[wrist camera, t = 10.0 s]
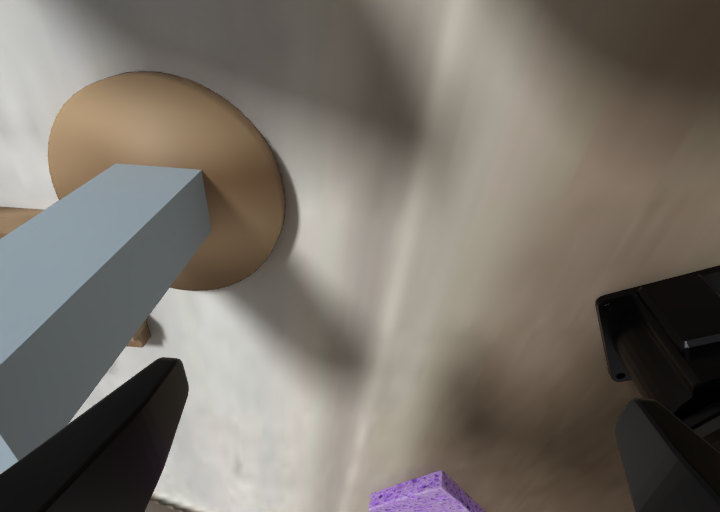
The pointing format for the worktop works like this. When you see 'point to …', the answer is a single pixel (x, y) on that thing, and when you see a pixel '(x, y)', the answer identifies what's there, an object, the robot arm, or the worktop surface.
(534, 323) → the worktop surface
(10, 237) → the grey-blue rectangular block
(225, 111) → the disc
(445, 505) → the sponges
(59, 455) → the robot arm
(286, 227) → the worktop surface
